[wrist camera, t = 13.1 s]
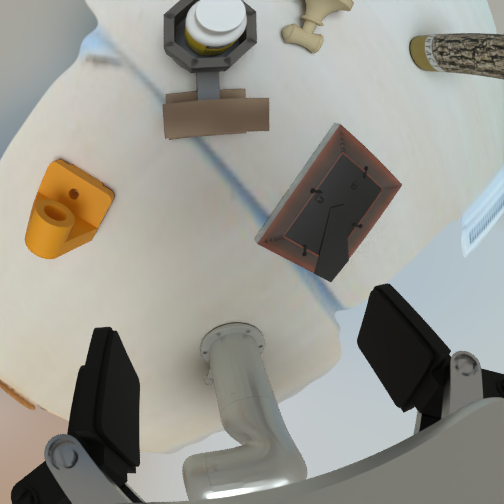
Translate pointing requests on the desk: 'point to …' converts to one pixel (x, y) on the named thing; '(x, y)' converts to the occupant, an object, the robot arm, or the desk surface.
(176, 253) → the desk surface
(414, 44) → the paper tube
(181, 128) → the cup bracket
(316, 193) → the picture frame
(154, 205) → the desk surface
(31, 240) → the bracket
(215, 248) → the desk surface
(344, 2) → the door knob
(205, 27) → the supplement bottle
